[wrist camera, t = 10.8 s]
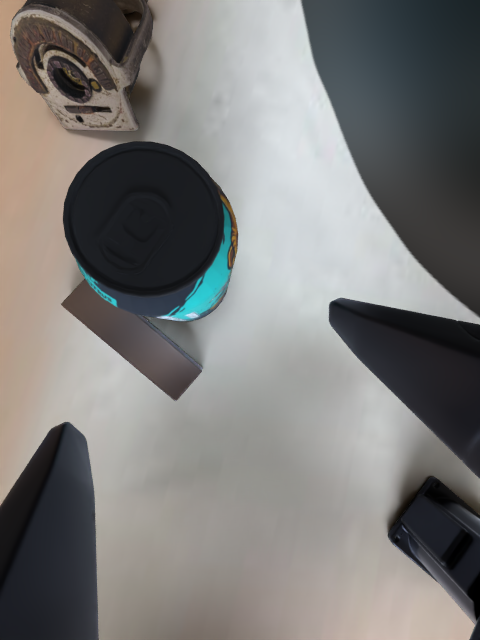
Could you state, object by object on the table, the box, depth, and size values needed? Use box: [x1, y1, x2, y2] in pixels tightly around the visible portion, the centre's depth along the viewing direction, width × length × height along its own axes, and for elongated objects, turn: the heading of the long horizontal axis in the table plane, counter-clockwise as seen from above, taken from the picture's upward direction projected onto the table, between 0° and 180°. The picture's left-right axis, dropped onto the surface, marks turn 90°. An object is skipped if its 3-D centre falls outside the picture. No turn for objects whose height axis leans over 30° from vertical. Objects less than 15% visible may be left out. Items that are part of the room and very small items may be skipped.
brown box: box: [61, 279, 203, 401], centre depth 20 cm, size 11×3×2 cm, turn 49°
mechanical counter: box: [10, 0, 153, 131], centre depth 18 cm, size 7×13×10 cm
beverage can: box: [63, 141, 238, 321], centre depth 16 cm, size 7×7×12 cm
